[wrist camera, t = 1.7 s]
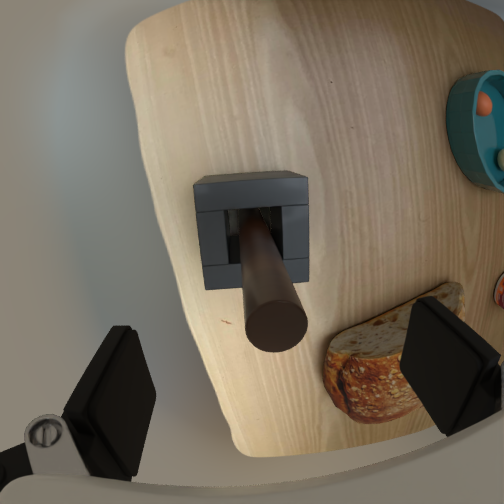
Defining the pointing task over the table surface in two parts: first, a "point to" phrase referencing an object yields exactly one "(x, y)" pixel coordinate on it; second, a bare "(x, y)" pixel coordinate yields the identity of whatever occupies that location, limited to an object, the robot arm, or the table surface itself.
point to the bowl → (477, 128)
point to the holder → (251, 196)
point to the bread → (378, 362)
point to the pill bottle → (500, 292)
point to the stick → (267, 288)
